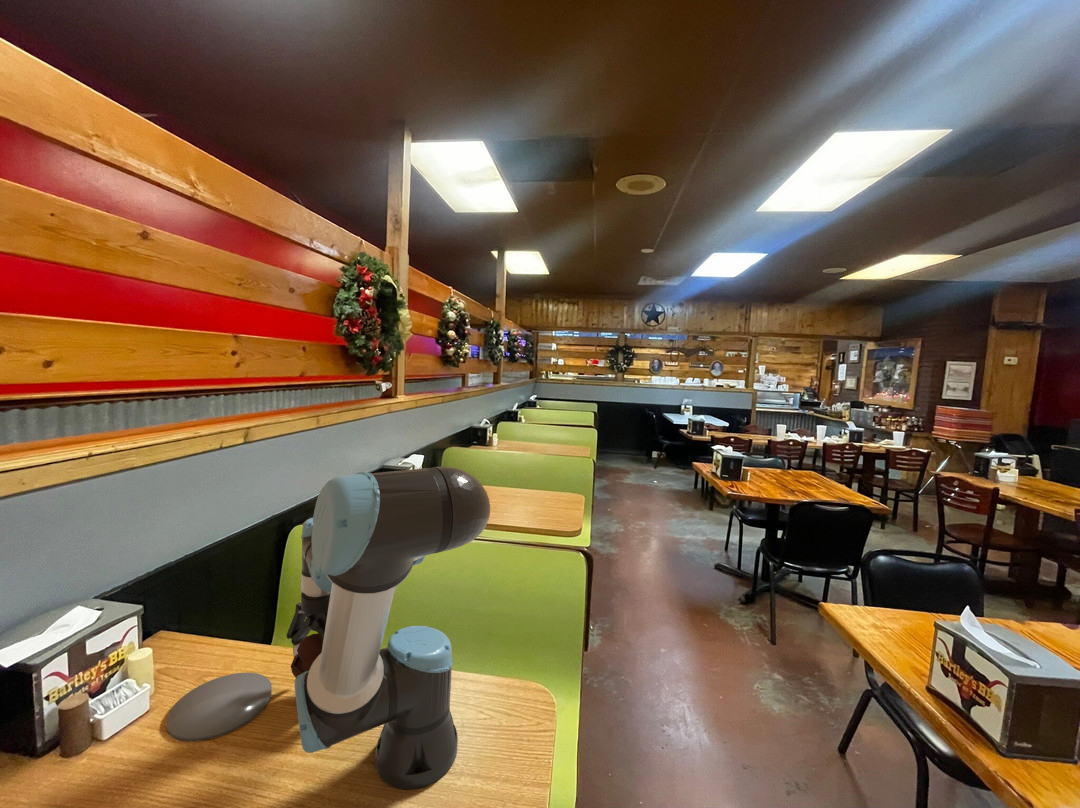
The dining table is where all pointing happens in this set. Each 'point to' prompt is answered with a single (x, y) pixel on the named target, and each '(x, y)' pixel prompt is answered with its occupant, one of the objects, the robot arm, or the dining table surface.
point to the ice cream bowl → (307, 654)
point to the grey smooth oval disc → (219, 706)
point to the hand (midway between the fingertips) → (319, 682)
